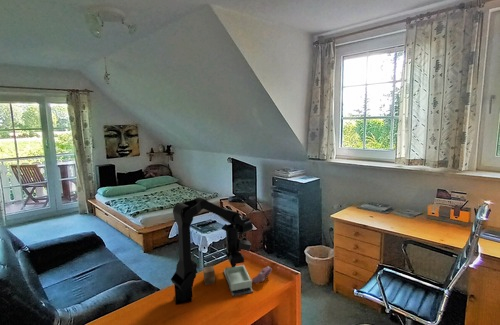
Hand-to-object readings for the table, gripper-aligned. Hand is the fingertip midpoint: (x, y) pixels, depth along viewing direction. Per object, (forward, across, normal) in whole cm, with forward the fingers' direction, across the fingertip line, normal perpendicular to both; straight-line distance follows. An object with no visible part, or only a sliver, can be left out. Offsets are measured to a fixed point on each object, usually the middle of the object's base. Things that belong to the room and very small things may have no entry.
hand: (233, 268), depth 138 cm
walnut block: (+3, -2, +12) cm, 13 cm away
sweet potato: (+3, -9, -11) cm, 15 cm away
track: (+3, -6, 0) cm, 7 cm away
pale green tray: (+3, -8, 0) cm, 8 cm away
